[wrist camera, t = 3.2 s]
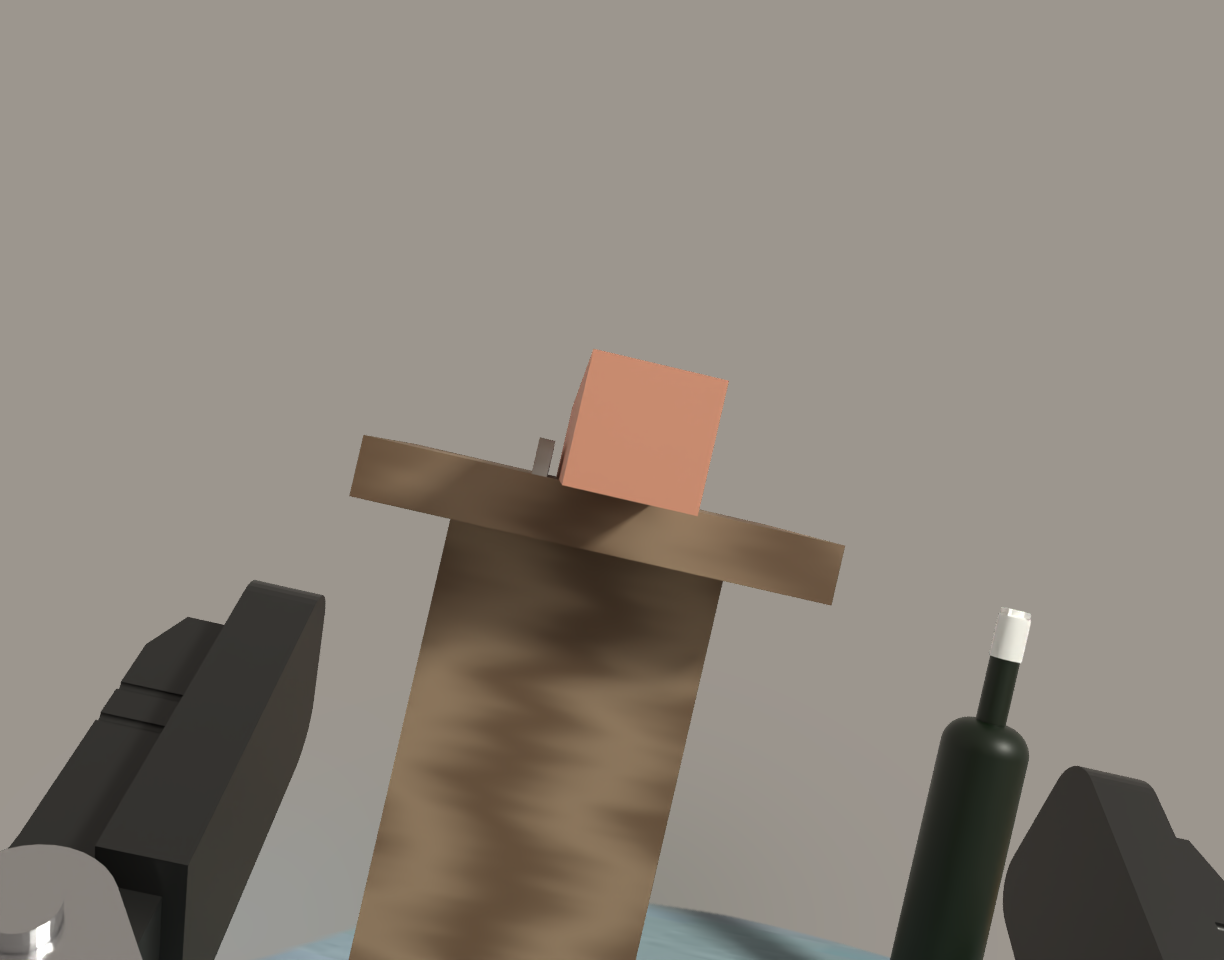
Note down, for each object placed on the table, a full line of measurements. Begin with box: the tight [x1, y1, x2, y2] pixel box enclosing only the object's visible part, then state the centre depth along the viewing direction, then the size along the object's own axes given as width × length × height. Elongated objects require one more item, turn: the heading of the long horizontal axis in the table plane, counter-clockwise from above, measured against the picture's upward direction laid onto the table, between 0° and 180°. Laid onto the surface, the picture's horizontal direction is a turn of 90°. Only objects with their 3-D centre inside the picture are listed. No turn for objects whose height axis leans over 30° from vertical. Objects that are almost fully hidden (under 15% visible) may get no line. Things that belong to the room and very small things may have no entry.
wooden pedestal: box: [349, 435, 845, 960], centre depth 45 cm, size 18×16×33 cm
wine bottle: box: [890, 607, 1031, 960], centre depth 79 cm, size 6×6×30 cm
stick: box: [557, 349, 729, 516], centre depth 40 cm, size 3×26×3 cm, turn 3°
